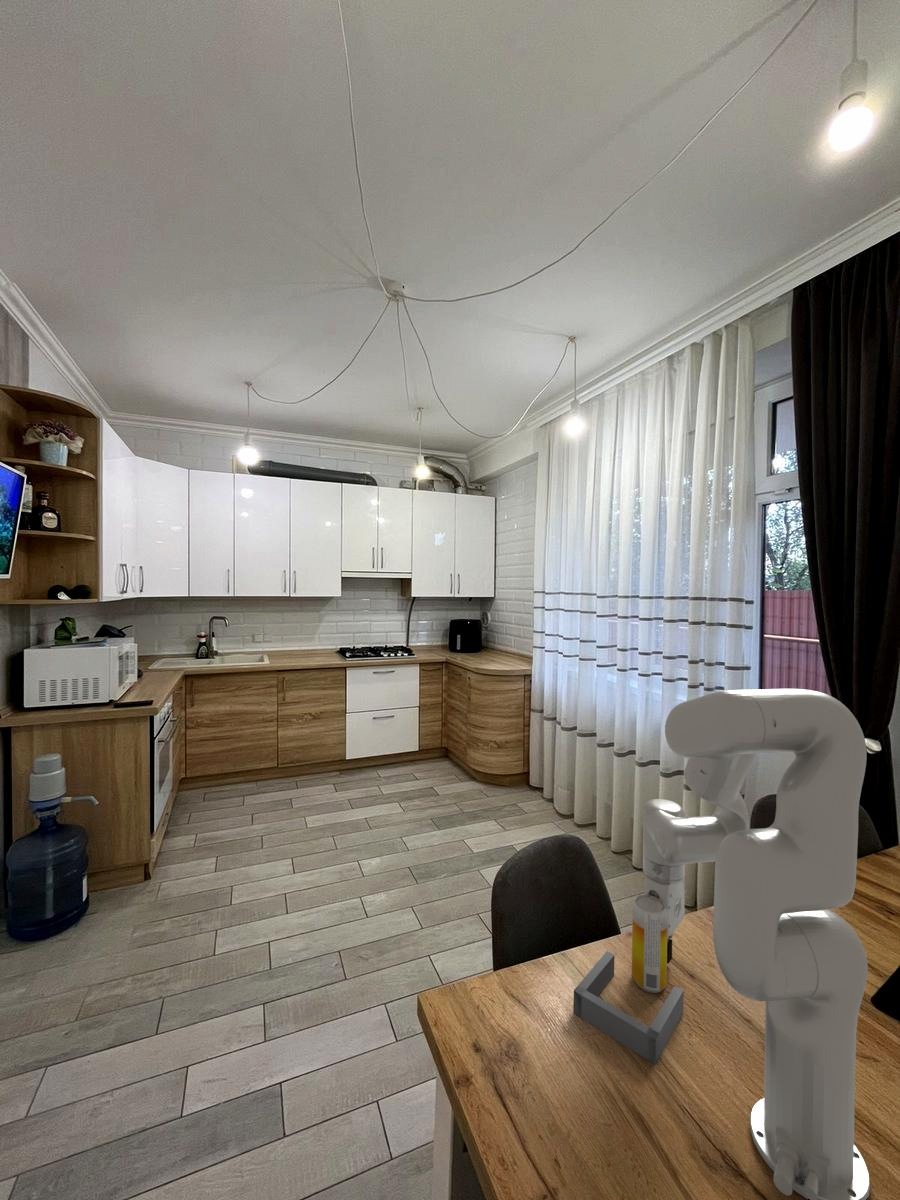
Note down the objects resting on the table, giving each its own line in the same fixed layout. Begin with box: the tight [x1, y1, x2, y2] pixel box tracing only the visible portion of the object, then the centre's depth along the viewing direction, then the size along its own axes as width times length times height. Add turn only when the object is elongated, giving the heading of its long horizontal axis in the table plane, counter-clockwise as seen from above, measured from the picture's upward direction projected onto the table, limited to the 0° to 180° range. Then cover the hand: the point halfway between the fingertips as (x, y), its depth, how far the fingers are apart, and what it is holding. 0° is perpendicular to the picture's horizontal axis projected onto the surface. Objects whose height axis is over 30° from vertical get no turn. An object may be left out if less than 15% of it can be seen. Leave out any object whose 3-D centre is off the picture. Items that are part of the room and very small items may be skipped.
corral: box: [572, 950, 684, 1066], centre depth 86 cm, size 13×14×4 cm
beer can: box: [631, 894, 668, 994], centre depth 93 cm, size 6×6×15 cm
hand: (662, 957), depth 98 cm, fingers closed
